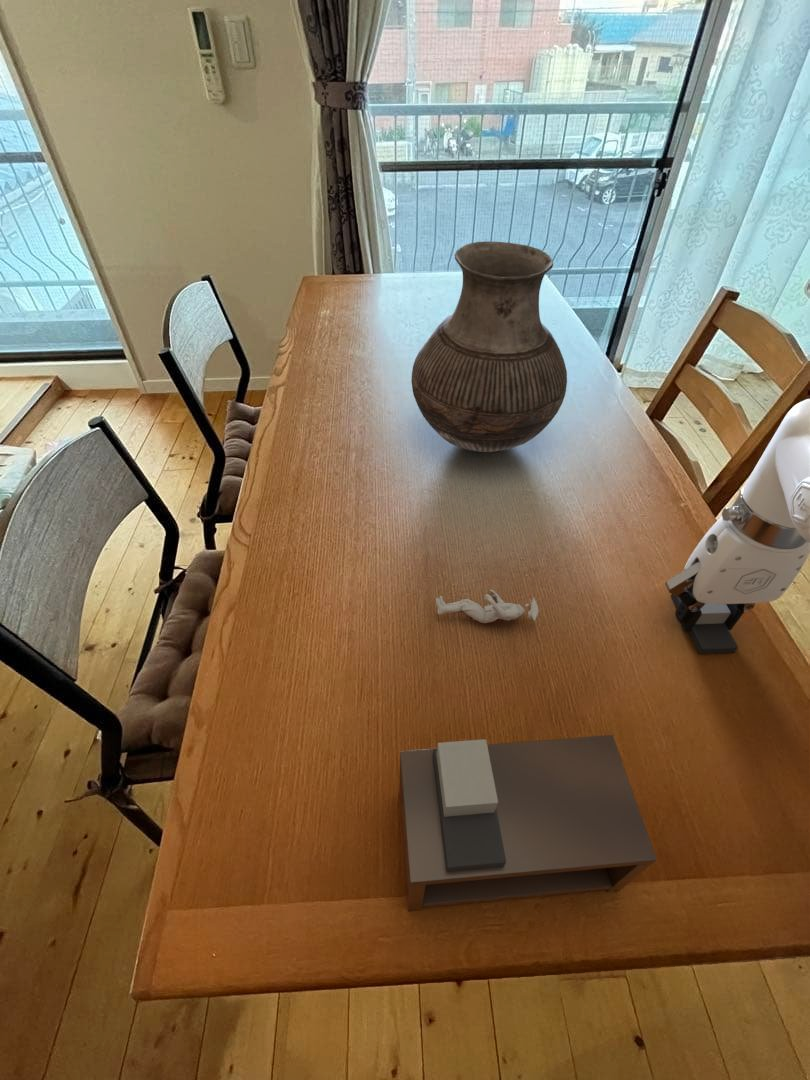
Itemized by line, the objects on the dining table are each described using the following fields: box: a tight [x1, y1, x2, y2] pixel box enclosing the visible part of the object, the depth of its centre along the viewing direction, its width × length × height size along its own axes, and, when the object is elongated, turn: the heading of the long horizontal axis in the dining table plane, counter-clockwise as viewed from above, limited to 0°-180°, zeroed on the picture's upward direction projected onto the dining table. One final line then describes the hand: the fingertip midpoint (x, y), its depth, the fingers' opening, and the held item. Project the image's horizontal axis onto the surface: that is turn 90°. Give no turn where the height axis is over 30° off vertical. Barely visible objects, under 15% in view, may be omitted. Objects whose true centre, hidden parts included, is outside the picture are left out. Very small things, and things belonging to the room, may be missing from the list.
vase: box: [411, 240, 568, 453], centre depth 86 cm, size 25×25×30 cm
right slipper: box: [670, 593, 739, 655], centre depth 69 cm, size 9×4×3 cm, turn 3°
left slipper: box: [432, 738, 506, 872], centre depth 44 cm, size 9×4×3 cm, turn 5°
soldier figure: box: [435, 589, 540, 624], centre depth 69 cm, size 8×5×12 cm
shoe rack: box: [398, 734, 658, 912], centre depth 49 cm, size 10×19×10 cm, turn 95°
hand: (702, 620), depth 70 cm, fingers closed on right slipper, 4 cm apart
